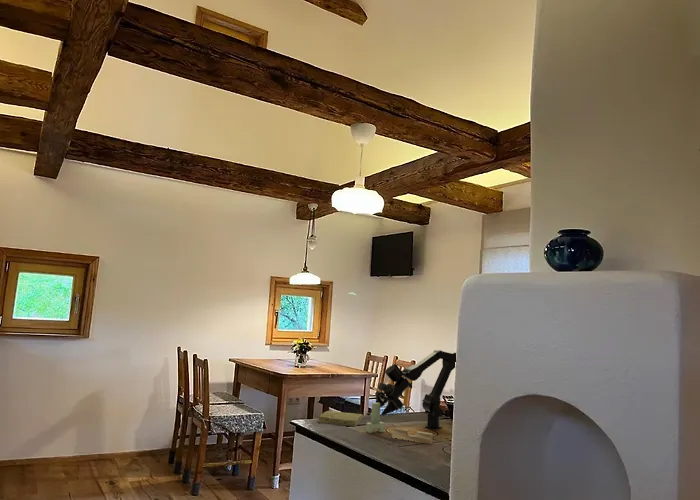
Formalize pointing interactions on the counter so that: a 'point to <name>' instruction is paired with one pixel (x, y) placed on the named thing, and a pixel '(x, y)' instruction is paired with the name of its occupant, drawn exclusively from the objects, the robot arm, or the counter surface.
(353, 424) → the decorative tile
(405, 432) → the birch slotted plate
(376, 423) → the green joystick knob
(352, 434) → the counter surface
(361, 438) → the counter surface
